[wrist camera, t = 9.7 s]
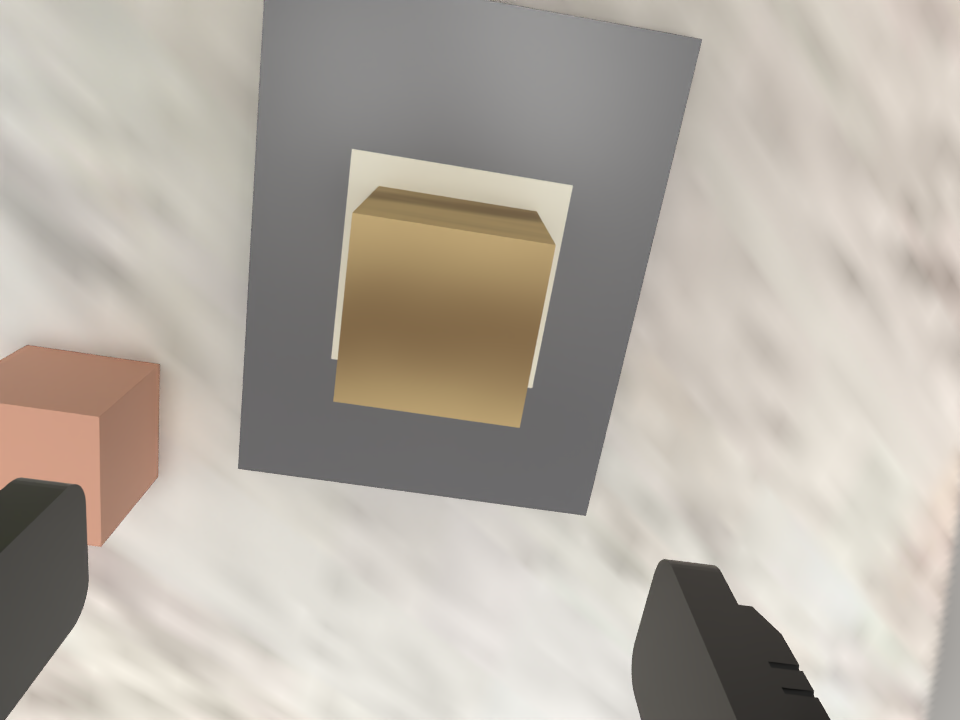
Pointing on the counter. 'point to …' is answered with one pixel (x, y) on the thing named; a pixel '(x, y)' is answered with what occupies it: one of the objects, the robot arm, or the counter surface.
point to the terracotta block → (81, 428)
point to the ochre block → (442, 306)
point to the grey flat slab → (463, 175)
